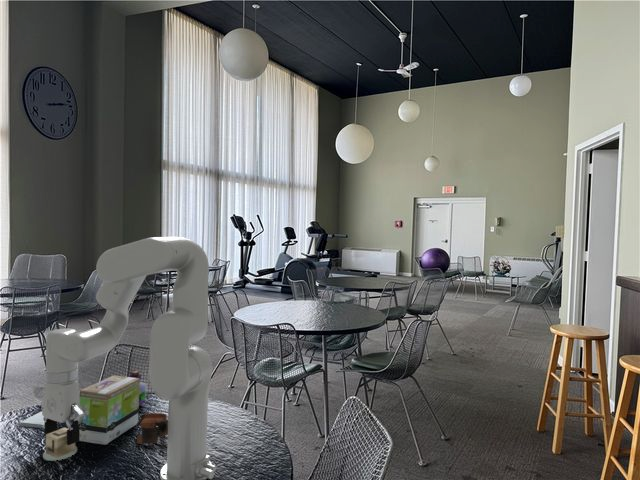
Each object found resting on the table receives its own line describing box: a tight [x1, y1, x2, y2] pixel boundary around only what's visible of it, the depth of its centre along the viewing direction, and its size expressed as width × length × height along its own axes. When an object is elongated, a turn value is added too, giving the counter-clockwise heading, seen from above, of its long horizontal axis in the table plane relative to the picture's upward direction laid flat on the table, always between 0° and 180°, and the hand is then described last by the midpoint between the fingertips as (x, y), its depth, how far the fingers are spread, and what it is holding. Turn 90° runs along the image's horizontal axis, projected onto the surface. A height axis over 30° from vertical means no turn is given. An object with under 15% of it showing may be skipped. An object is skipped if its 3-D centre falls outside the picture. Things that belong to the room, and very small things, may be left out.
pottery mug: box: [136, 412, 168, 445], centre depth 131 cm, size 12×10×8 cm
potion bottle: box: [127, 370, 148, 407], centre depth 153 cm, size 9×9×12 cm
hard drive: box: [18, 410, 46, 429], centre depth 141 cm, size 2×8×12 cm
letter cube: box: [45, 427, 76, 458], centre depth 120 cm, size 5×5×5 cm
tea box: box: [78, 375, 141, 446], centre depth 133 cm, size 15×10×15 cm, turn 168°
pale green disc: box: [42, 445, 78, 462], centre depth 120 cm, size 8×8×1 cm
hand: (61, 438), depth 120 cm, fingers open, 9 cm apart
